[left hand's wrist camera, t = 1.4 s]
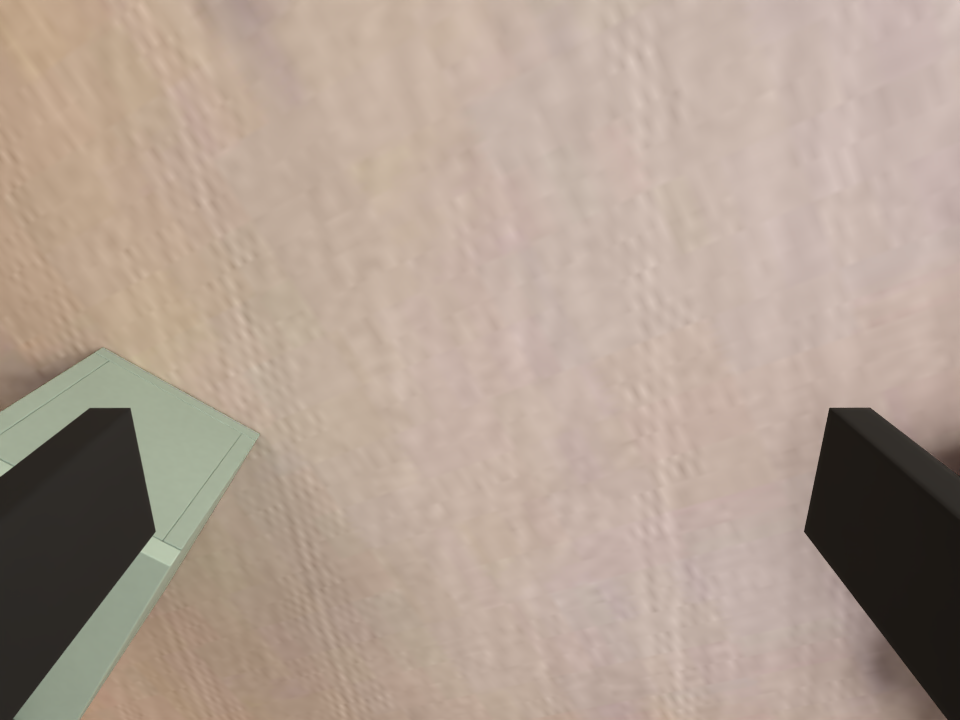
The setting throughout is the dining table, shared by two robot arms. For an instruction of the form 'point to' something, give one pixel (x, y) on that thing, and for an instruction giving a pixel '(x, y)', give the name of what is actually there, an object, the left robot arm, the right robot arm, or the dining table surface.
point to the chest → (141, 444)
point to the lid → (99, 637)
